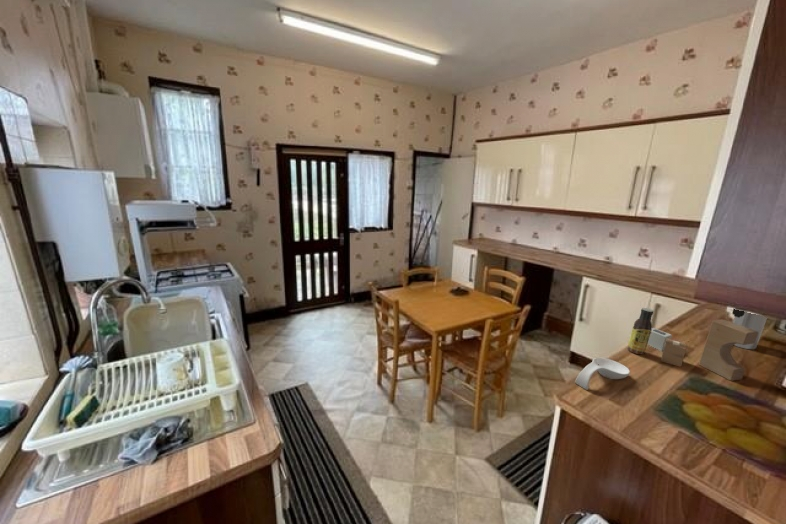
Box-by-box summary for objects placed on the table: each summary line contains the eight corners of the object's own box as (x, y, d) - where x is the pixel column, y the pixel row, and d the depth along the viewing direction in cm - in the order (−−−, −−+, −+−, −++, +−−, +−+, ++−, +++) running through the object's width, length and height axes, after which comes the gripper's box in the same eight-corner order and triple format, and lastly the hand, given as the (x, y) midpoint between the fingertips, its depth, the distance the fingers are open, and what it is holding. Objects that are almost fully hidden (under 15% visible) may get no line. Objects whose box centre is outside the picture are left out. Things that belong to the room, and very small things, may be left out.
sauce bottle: (631, 354, 134) (642, 311, 128) (623, 346, 140) (633, 305, 134) (648, 356, 133) (660, 313, 127) (640, 348, 139) (650, 307, 133)
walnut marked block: (661, 355, 134) (666, 337, 131) (680, 360, 130) (685, 342, 128) (661, 361, 129) (666, 343, 127) (680, 366, 125) (686, 348, 123)
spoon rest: (602, 362, 128) (605, 346, 126) (634, 378, 118) (638, 361, 116) (565, 378, 117) (569, 362, 115) (598, 398, 107) (602, 380, 105)
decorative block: (742, 379, 118) (759, 332, 112) (730, 381, 117) (747, 333, 111) (708, 363, 128) (723, 318, 123) (697, 364, 127) (711, 319, 122)
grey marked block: (650, 341, 145) (653, 327, 143) (667, 348, 139) (671, 334, 137) (643, 343, 143) (647, 329, 141) (661, 351, 137) (665, 336, 135)
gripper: (782, 275, 108) (765, 320, 113) (728, 266, 119) (715, 308, 123) (779, 278, 104) (761, 326, 109) (723, 269, 115) (710, 312, 119)
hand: (737, 316), depth 116 cm, fingers closed
